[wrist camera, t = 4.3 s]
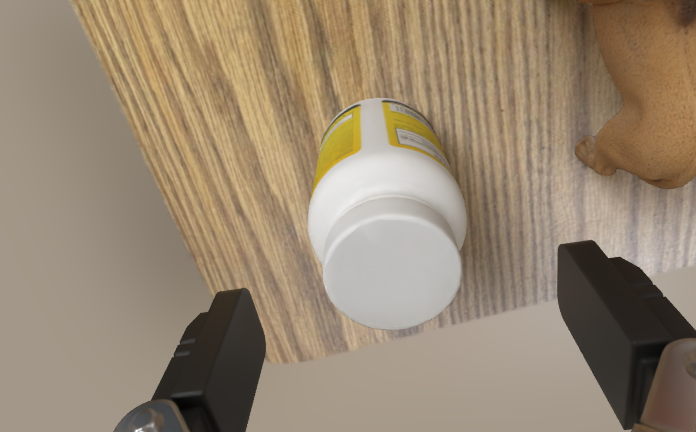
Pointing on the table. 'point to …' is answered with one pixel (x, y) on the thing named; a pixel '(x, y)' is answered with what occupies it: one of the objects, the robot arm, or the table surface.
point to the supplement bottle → (386, 216)
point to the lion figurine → (647, 91)
